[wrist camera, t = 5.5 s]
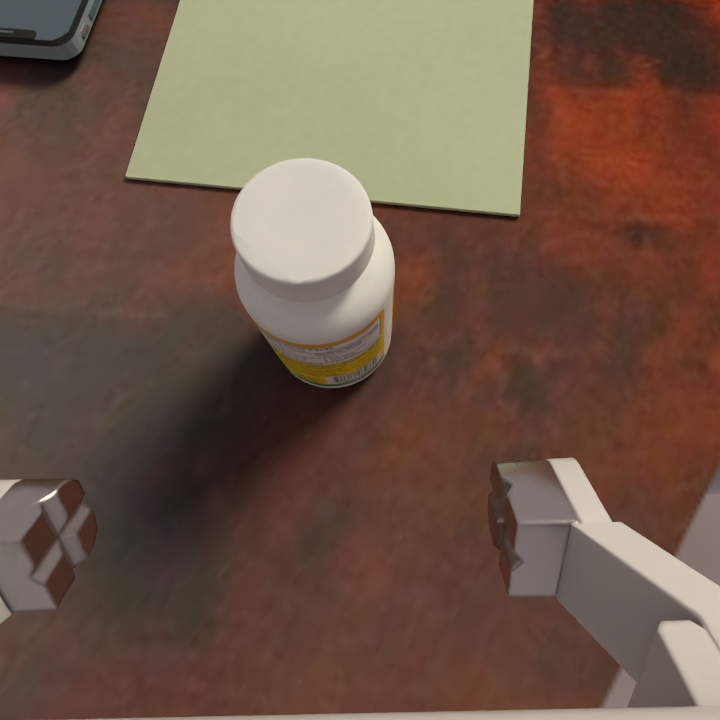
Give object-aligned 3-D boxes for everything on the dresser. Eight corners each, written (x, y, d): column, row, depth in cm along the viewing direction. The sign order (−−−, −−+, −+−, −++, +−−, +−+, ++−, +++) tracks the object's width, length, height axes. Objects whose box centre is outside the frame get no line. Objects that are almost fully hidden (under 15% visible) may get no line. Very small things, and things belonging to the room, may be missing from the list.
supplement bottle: (365, 408, 22) (350, 339, 13) (256, 364, 23) (168, 270, 13) (409, 302, 23) (426, 170, 14) (305, 264, 24) (255, 115, 15)
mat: (534, -29, 28) (535, -33, 28) (518, 217, 24) (519, 214, 24) (197, -49, 30) (196, -52, 30) (126, 179, 26) (124, 176, 26)
